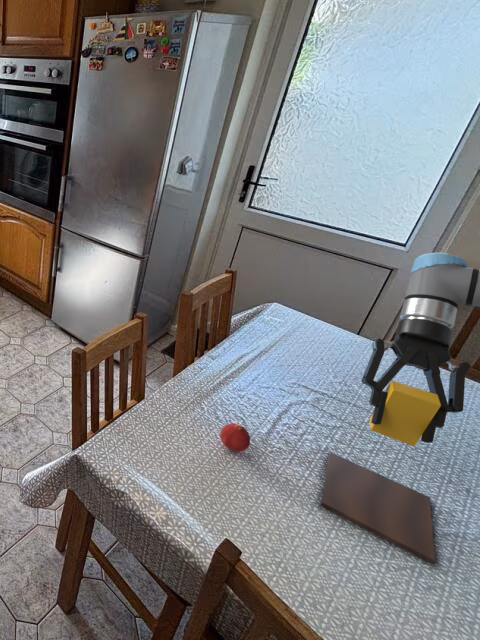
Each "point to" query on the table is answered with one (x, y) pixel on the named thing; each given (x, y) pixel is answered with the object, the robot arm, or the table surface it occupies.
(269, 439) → the table surface
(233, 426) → the red round piece
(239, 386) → the table surface
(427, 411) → the block
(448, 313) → the robot arm
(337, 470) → the board
